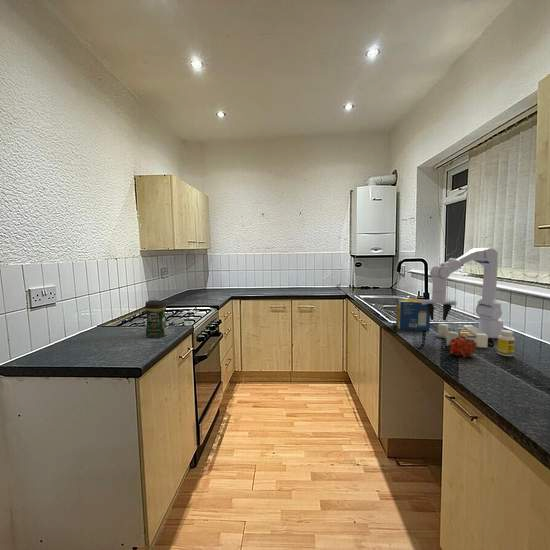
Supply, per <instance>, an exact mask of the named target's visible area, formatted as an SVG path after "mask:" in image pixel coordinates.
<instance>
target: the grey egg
mask: <svg viewBox="0 0 550 550" xmlns="http://www.w3.org/2000/svg"><path fill="white" fill-rule="evenodd" d="M459 334H460V332H456V331H449V330H448V332H447V338H446V346H447V347H448V345H449V344H450V342H451V340H452V339H456V338H457V337H459Z"/></svg>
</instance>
